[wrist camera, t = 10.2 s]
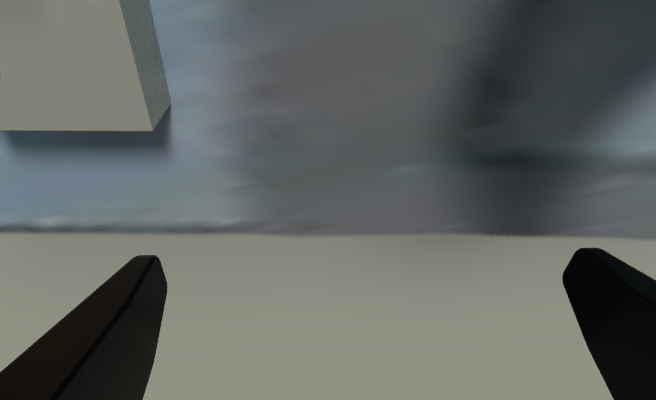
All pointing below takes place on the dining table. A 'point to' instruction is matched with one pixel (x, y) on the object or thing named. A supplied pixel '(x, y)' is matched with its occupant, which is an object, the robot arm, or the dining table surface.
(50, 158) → the dining table surface
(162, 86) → the rail
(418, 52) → the dining table surface
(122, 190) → the dining table surface
